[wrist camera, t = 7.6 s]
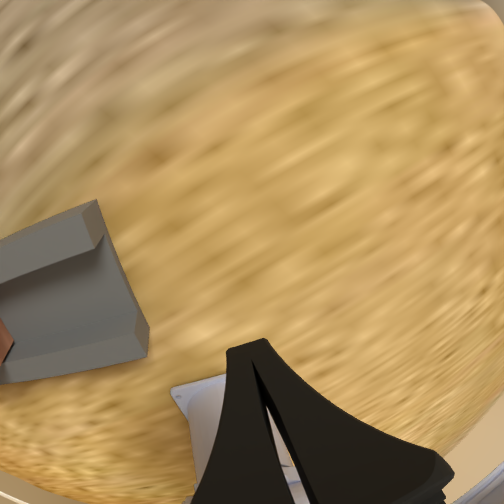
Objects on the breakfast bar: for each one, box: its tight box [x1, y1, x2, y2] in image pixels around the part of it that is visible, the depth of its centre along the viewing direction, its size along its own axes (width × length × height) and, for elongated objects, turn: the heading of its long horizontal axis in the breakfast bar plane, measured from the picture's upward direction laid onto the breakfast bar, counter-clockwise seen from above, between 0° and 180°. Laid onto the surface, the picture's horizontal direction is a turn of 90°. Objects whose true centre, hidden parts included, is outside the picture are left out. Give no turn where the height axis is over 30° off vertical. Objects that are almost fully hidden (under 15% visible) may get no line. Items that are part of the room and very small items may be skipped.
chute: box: [0, 199, 149, 385], centre depth 16 cm, size 10×18×3 cm, turn 103°
